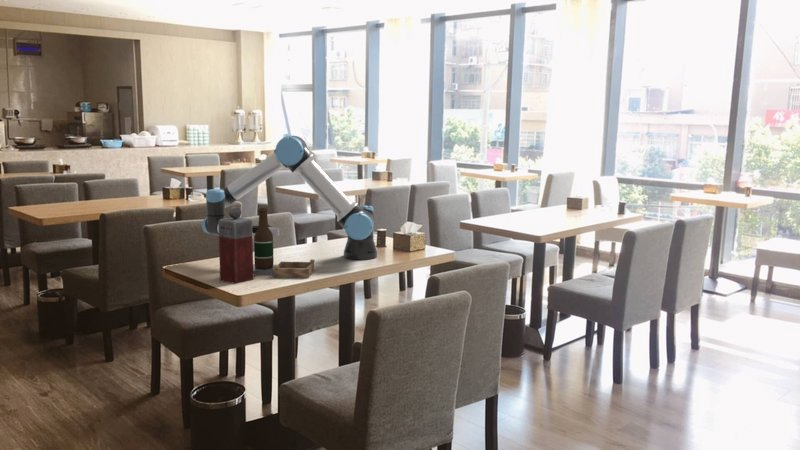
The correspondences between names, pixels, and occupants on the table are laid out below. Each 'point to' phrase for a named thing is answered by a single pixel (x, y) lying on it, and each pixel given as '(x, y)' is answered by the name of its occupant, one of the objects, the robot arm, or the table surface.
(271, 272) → the trivet
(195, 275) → the table surface
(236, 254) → the red square bottle
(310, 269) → the wooden tray
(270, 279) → the table surface
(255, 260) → the beer bottle
